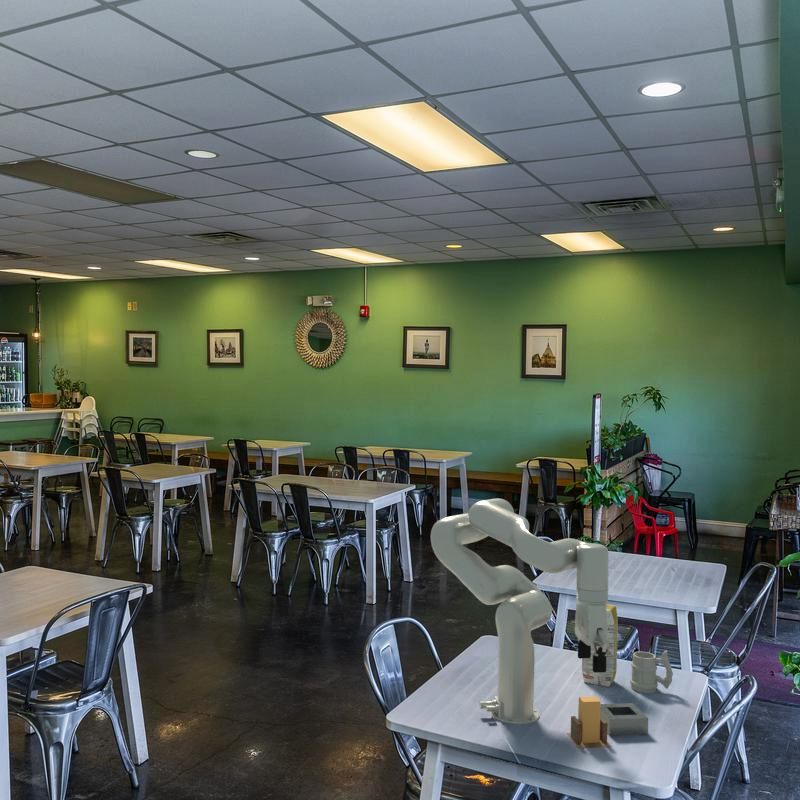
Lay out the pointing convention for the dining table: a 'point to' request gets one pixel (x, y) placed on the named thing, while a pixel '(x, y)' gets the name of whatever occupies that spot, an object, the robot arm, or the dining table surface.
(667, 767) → the dining table surface
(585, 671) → the juice carton
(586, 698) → the plug
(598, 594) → the robot arm
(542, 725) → the dining table surface
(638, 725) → the port block
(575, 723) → the tan u-shaped piece
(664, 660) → the mug
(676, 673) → the dining table surface
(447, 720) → the dining table surface
